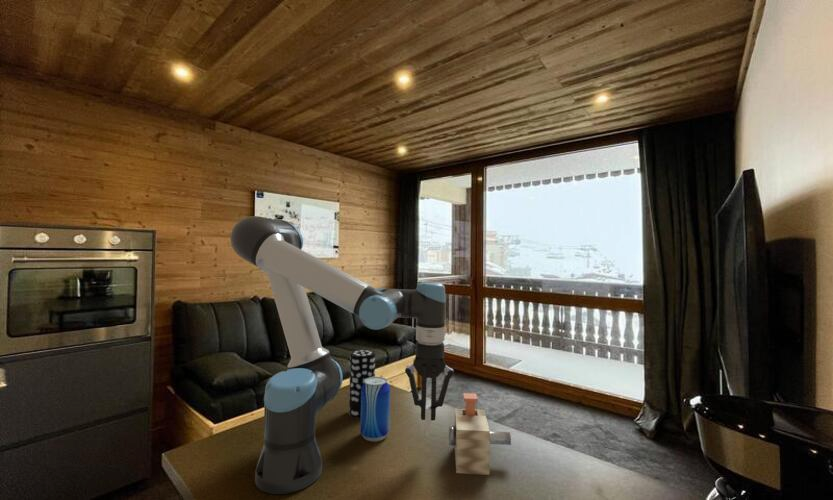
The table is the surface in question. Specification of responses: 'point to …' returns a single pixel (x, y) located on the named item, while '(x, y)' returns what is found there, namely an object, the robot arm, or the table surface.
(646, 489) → the table surface
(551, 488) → the table surface
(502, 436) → the pin
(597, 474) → the table surface
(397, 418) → the table surface
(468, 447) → the block
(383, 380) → the beer can
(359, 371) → the spotted tube
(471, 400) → the plunger
